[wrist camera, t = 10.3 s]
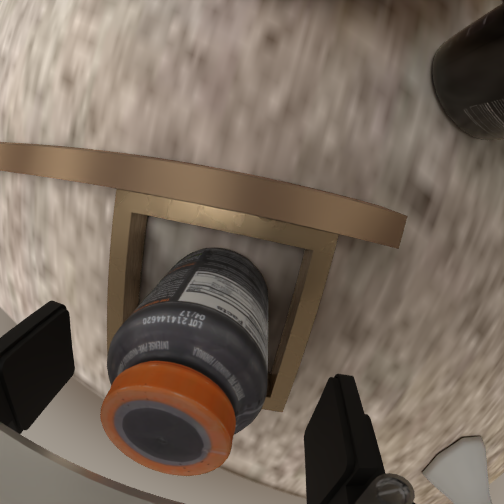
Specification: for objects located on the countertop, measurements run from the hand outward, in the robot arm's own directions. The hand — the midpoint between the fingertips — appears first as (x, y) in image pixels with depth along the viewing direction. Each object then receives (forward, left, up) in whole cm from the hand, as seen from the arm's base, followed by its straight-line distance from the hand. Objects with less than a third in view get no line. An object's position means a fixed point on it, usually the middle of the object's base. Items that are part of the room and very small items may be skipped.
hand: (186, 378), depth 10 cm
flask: (-26, +14, -9) cm, 31 cm away
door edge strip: (+5, -6, -9) cm, 12 cm away
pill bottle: (0, +1, -9) cm, 9 cm away
